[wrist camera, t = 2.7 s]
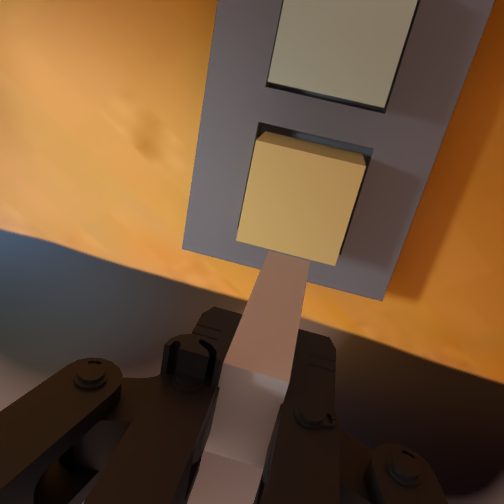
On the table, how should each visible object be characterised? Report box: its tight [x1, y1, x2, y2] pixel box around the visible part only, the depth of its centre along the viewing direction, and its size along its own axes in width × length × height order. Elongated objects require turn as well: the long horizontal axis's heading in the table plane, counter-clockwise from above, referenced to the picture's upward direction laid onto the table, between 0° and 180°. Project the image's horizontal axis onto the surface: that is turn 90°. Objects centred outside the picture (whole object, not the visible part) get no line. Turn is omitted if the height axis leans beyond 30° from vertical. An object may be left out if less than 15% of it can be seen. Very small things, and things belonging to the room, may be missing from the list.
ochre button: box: [236, 131, 366, 266], centre depth 26 cm, size 6×6×4 cm
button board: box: [182, 0, 495, 301], centre depth 25 cm, size 14×30×2 cm, turn 168°
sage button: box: [268, 0, 418, 108], centre depth 23 cm, size 6×6×4 cm
